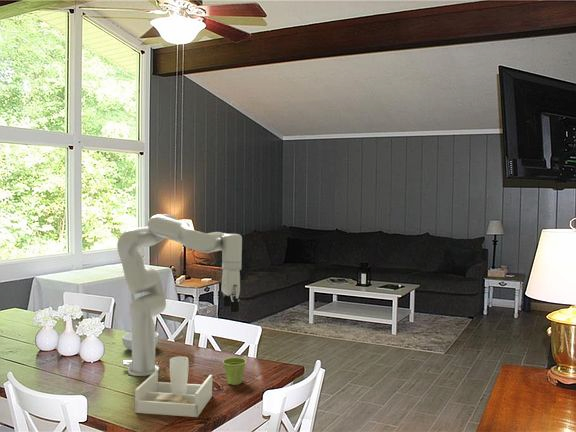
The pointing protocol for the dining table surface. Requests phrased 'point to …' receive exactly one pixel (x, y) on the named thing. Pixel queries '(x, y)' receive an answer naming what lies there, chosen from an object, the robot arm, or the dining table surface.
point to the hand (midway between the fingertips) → (230, 308)
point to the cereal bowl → (128, 340)
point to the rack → (153, 389)
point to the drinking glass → (179, 374)
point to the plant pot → (234, 370)
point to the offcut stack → (171, 398)
